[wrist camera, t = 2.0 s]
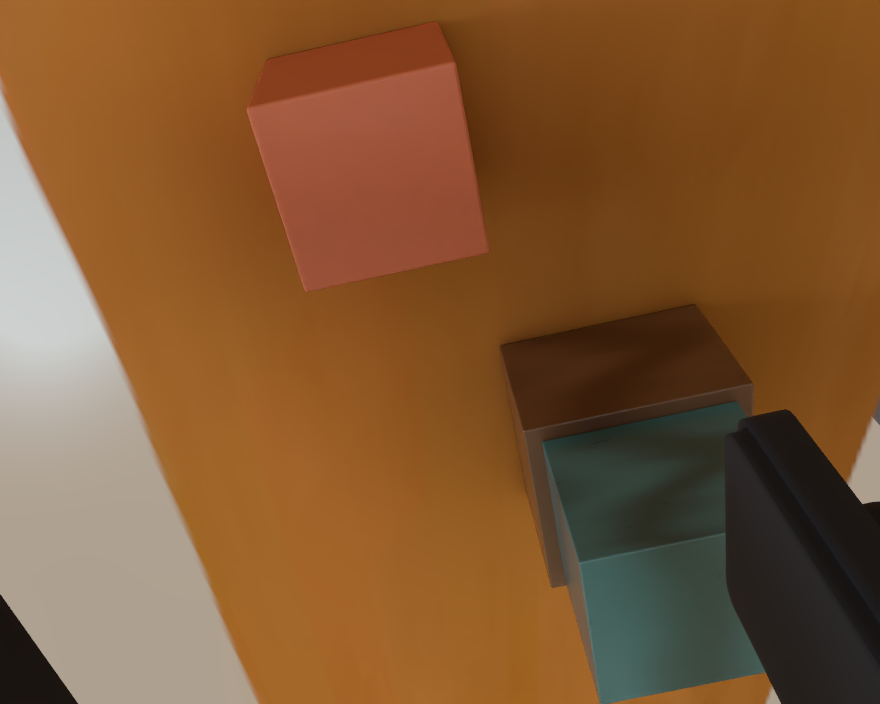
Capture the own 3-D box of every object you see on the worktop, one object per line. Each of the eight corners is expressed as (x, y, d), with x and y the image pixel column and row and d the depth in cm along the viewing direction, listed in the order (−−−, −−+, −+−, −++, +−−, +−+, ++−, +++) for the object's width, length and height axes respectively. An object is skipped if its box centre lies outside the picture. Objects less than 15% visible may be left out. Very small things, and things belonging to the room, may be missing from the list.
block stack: (695, 303, 29) (835, 496, 20) (701, 456, 33) (821, 672, 24) (499, 345, 29) (556, 553, 21) (526, 492, 33) (585, 719, 24)
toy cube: (437, 20, 23) (455, 60, 19) (469, 186, 26) (490, 253, 22) (265, 59, 23) (244, 108, 19) (313, 220, 26) (304, 294, 22)
